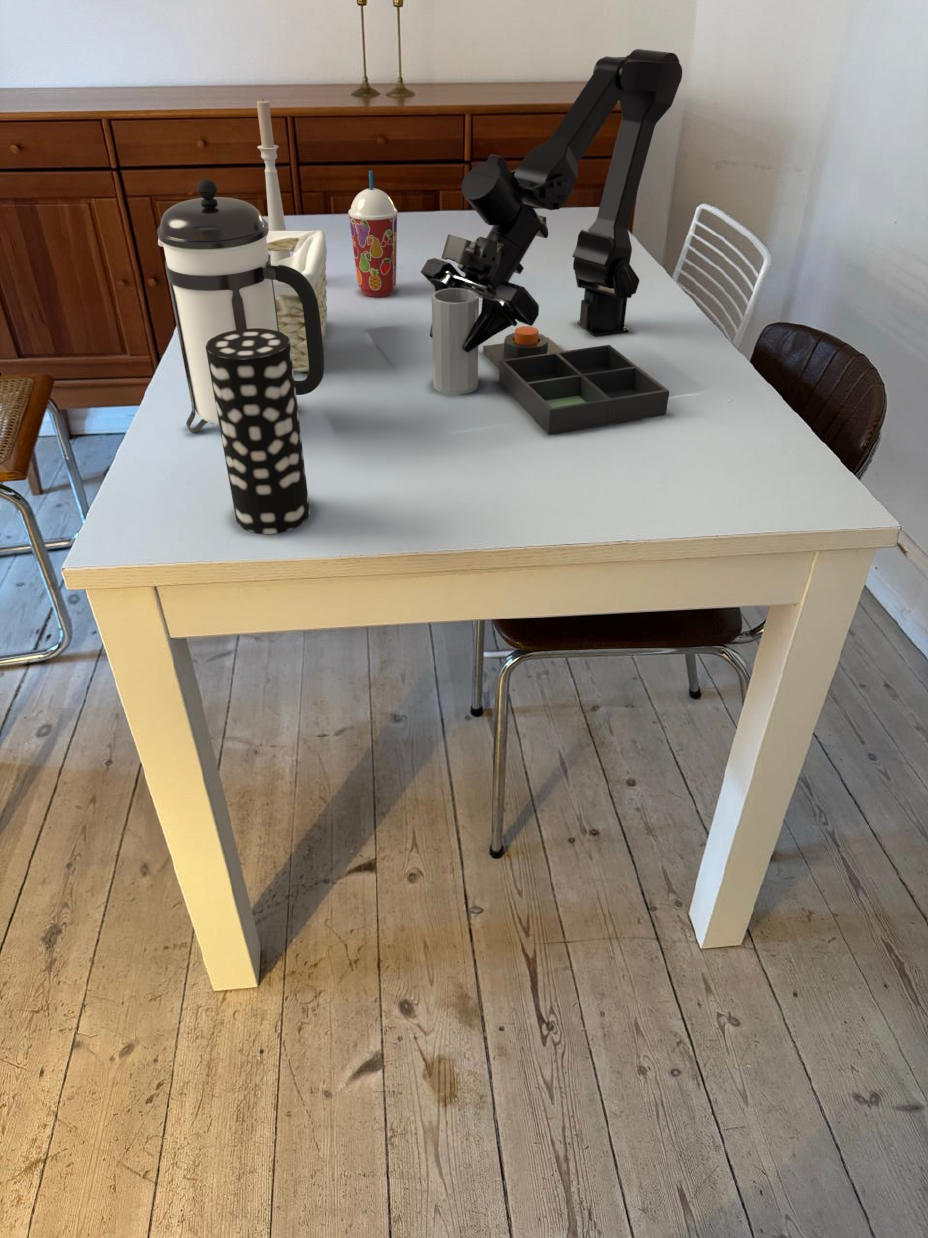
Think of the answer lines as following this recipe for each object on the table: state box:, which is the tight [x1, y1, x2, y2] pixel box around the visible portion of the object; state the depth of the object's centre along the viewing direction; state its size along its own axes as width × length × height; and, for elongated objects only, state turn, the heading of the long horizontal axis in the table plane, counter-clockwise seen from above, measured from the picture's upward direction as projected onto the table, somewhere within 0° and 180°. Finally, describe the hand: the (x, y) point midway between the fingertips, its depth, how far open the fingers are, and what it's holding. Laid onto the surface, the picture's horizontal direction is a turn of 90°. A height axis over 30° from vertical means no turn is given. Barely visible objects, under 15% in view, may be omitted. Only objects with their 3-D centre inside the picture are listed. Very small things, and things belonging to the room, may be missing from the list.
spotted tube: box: [206, 328, 311, 535], centre depth 98 cm, size 8×8×20 cm
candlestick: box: [256, 98, 292, 263], centre depth 159 cm, size 13×13×30 cm
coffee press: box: [156, 178, 325, 434], centre depth 114 cm, size 17×16×30 cm
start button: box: [514, 325, 540, 345], centre depth 138 cm, size 4×4×2 cm
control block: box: [482, 332, 565, 370], centre depth 139 cm, size 11×8×3 cm
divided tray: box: [498, 344, 670, 435], centre depth 128 cm, size 18×18×4 cm
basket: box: [267, 229, 328, 372], centre depth 139 cm, size 24×16×15 cm
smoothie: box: [348, 170, 398, 298], centre depth 158 cm, size 8×8×20 cm
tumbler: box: [431, 288, 480, 395], centre depth 128 cm, size 6×6×13 cm
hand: (448, 343), depth 127 cm, fingers closed on tumbler, 6 cm apart
